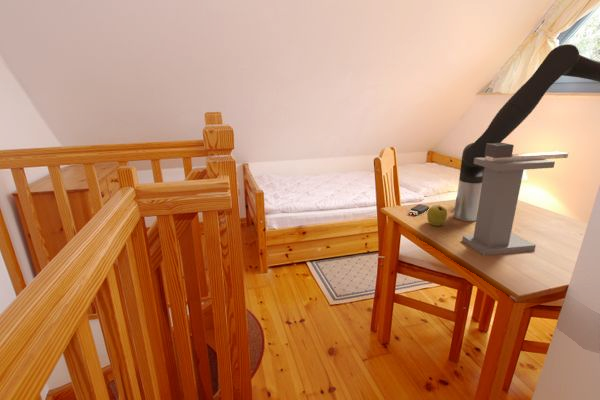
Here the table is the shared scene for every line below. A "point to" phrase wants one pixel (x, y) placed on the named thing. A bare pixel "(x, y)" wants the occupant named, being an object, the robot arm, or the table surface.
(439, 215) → the apple
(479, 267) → the table surface
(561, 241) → the table surface
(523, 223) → the table surface
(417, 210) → the usb drive
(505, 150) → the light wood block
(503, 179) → the gray stand
